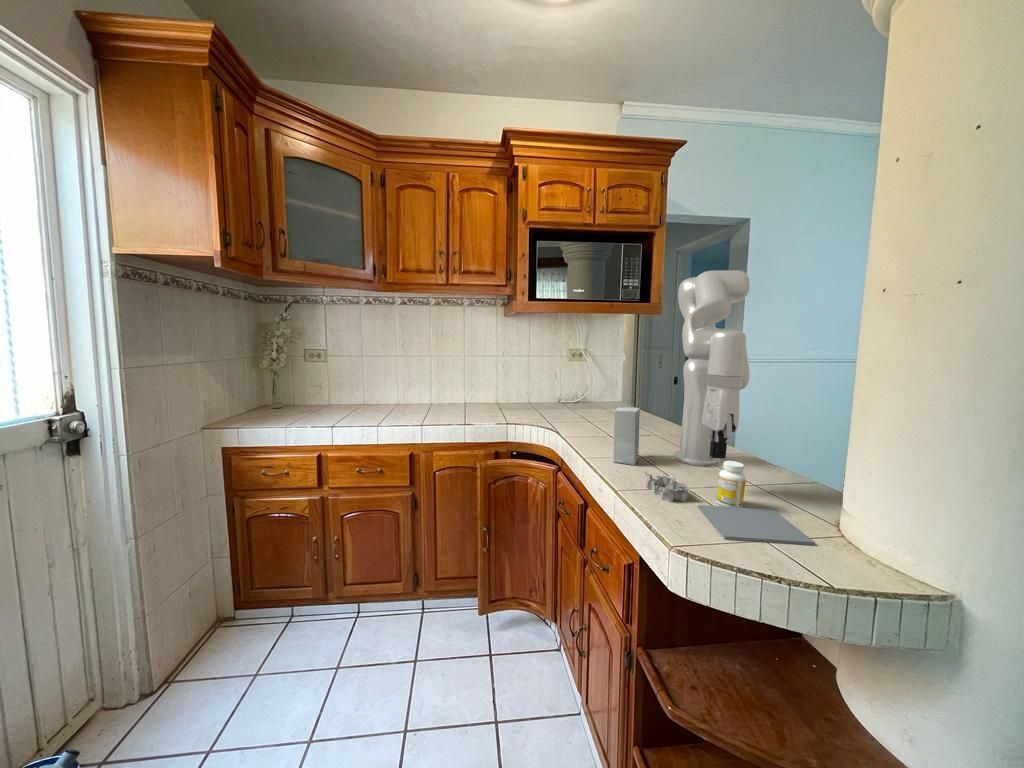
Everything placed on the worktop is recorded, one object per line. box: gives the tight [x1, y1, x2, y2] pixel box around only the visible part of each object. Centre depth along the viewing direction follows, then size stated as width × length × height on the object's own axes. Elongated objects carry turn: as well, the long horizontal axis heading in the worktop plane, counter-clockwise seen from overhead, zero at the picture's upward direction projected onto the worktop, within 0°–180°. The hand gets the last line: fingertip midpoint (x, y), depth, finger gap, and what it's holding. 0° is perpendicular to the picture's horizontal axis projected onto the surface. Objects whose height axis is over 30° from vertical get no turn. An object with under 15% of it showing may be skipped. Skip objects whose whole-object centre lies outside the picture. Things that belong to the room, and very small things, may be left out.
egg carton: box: [644, 471, 691, 503], centre depth 99 cm, size 10×7×4 cm
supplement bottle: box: [716, 460, 747, 508], centre depth 93 cm, size 5×5×10 cm
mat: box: [697, 504, 816, 546], centre depth 83 cm, size 14×16×1 cm
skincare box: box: [612, 406, 641, 466], centre depth 122 cm, size 8×7×16 cm
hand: (717, 457), depth 100 cm, fingers closed
